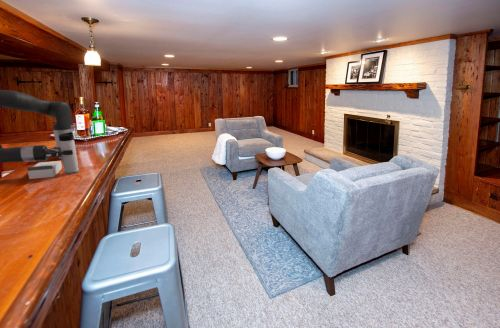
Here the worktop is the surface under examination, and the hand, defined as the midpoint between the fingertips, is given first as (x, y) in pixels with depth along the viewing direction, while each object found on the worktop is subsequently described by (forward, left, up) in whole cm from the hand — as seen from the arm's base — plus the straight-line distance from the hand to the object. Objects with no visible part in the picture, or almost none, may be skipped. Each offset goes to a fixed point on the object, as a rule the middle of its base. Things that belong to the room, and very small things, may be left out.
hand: (74, 150), depth 148 cm
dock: (-3, -14, -11) cm, 18 cm away
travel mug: (0, -2, -11) cm, 11 cm away
